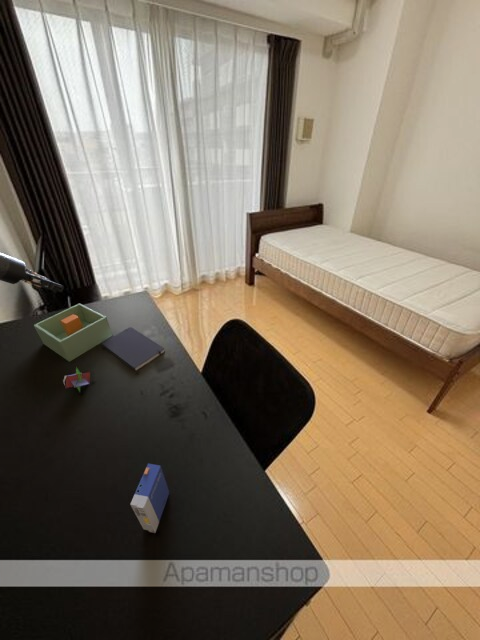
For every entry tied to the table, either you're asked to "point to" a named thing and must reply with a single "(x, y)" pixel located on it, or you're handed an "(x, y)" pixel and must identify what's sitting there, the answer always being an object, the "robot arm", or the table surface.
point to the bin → (81, 340)
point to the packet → (71, 324)
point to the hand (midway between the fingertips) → (55, 285)
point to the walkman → (150, 498)
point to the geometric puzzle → (77, 379)
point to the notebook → (133, 348)
